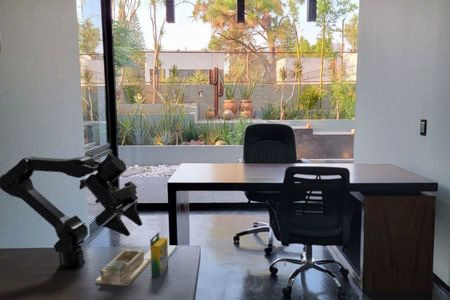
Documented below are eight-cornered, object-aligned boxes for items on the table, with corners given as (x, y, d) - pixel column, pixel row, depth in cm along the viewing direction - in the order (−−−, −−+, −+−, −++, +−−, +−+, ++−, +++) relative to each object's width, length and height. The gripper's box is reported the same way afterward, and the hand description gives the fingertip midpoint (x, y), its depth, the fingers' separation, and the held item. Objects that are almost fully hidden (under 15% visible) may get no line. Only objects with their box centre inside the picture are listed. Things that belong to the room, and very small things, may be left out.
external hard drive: (176, 250, 144) (164, 264, 132) (154, 248, 146) (141, 262, 134) (176, 245, 144) (164, 259, 132) (154, 244, 146) (140, 258, 134)
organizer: (96, 283, 119) (95, 266, 118) (120, 260, 134) (119, 246, 134) (128, 285, 117) (127, 269, 116) (149, 262, 132) (148, 248, 132)
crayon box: (160, 277, 122) (158, 240, 120) (151, 277, 122) (149, 240, 121) (168, 267, 129) (167, 232, 127) (159, 266, 129) (158, 231, 128)
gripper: (106, 181, 114) (141, 224, 114) (133, 169, 132) (164, 206, 132) (79, 205, 117) (114, 247, 117) (110, 189, 135) (140, 226, 135)
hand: (135, 230), depth 125 cm, fingers open, 9 cm apart
